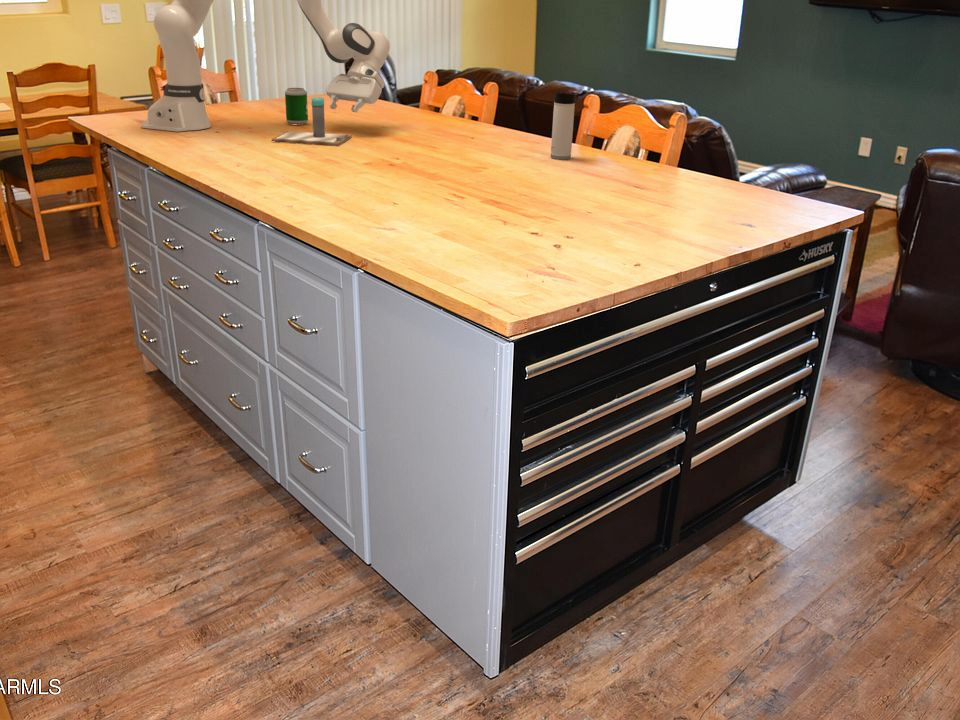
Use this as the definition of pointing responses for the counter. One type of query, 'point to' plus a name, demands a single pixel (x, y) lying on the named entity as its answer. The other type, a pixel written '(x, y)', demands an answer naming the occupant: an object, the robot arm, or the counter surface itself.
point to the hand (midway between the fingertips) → (342, 109)
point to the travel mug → (562, 126)
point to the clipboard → (312, 138)
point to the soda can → (296, 106)
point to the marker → (318, 117)
